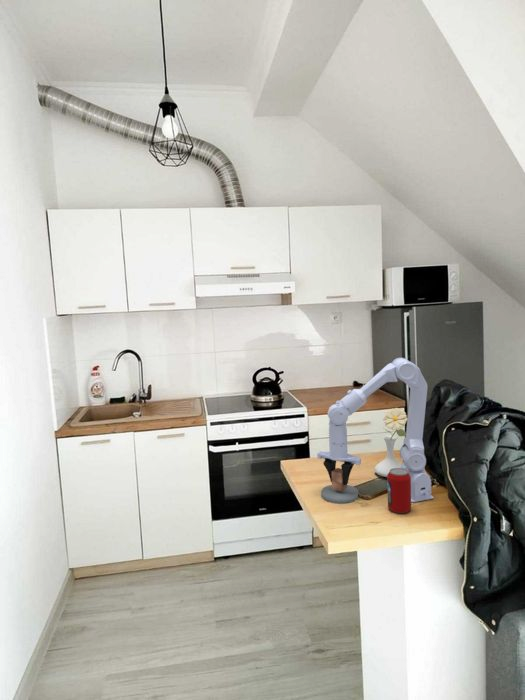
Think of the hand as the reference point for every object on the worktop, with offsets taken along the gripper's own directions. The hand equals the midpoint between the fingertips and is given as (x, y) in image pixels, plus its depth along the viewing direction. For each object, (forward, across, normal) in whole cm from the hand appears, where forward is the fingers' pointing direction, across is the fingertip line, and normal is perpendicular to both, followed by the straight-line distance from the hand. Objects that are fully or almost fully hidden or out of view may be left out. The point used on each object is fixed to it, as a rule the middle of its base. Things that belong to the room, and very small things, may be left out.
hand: (339, 482), depth 155 cm
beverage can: (+5, -20, +1) cm, 21 cm away
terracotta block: (+2, 0, 0) cm, 2 cm away
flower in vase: (+5, -9, -25) cm, 27 cm away
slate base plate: (+4, 0, 0) cm, 4 cm away
